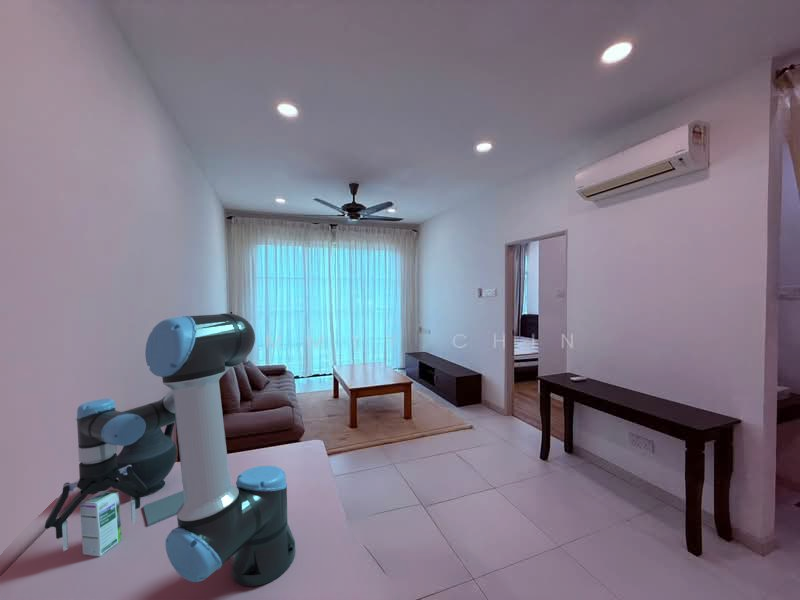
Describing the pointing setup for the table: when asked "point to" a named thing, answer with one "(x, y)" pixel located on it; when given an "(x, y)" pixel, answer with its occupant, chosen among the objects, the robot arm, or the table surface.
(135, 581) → the table surface
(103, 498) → the syrup box
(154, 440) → the pitcher
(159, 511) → the mat
